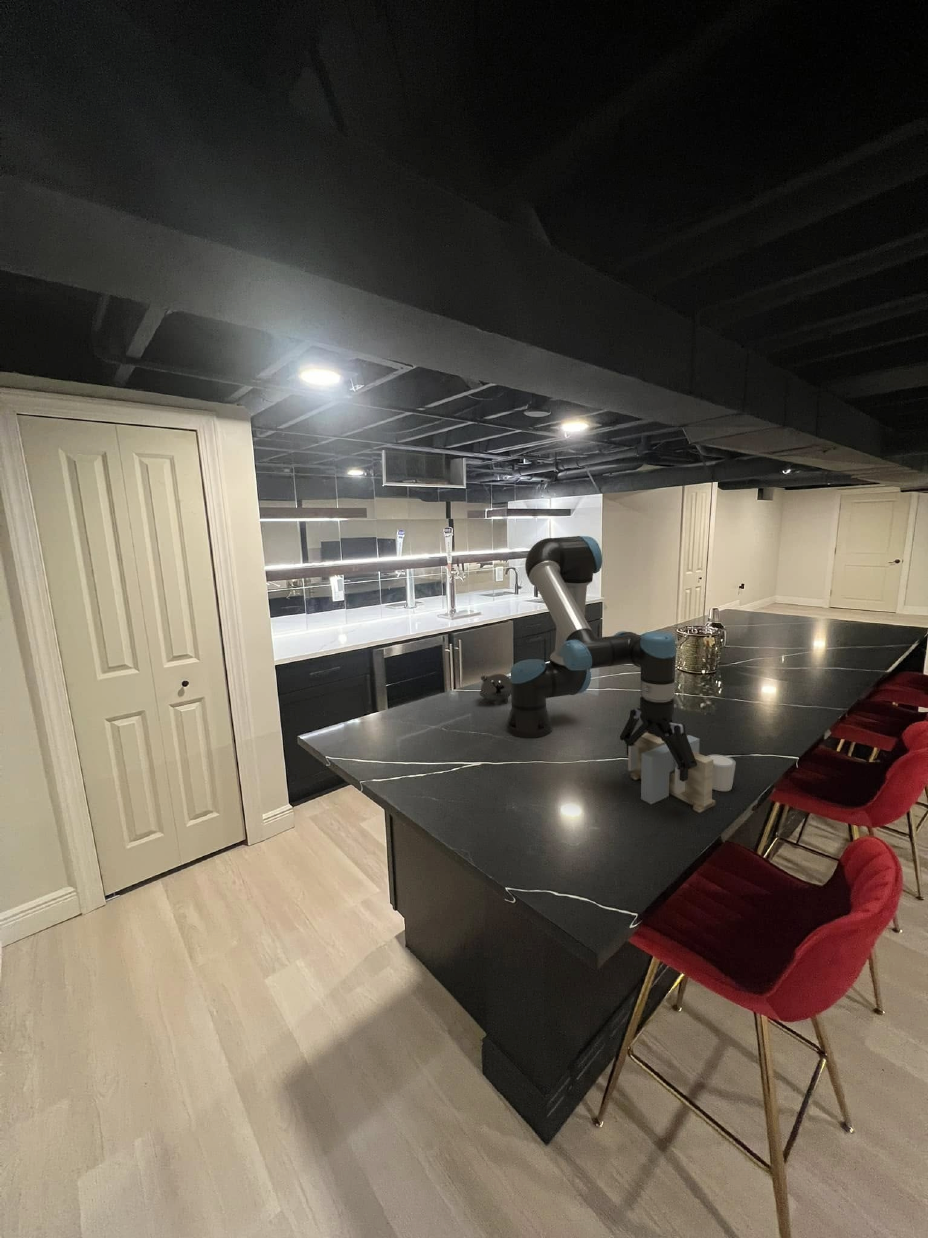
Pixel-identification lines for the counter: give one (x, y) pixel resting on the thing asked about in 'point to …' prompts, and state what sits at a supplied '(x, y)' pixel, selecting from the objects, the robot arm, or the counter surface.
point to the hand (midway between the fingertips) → (655, 780)
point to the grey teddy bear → (496, 688)
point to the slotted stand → (698, 777)
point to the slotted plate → (659, 771)
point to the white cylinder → (722, 772)
